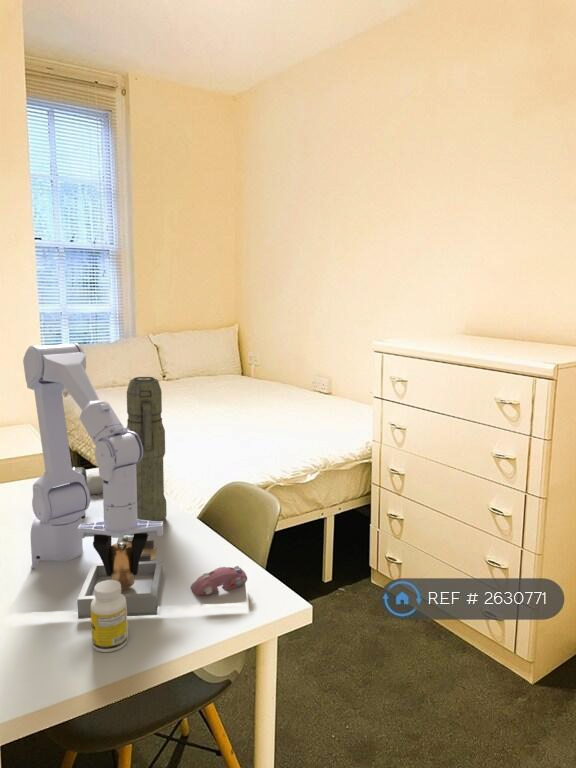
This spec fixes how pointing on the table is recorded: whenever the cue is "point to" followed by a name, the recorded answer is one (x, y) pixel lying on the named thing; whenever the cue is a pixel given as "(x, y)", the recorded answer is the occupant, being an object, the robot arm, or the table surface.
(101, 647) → the supplement bottle
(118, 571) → the cell
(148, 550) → the brown stand base
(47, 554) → the robot arm
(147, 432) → the thermos
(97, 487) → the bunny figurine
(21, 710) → the table surface
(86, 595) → the tray
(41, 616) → the table surface
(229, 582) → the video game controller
